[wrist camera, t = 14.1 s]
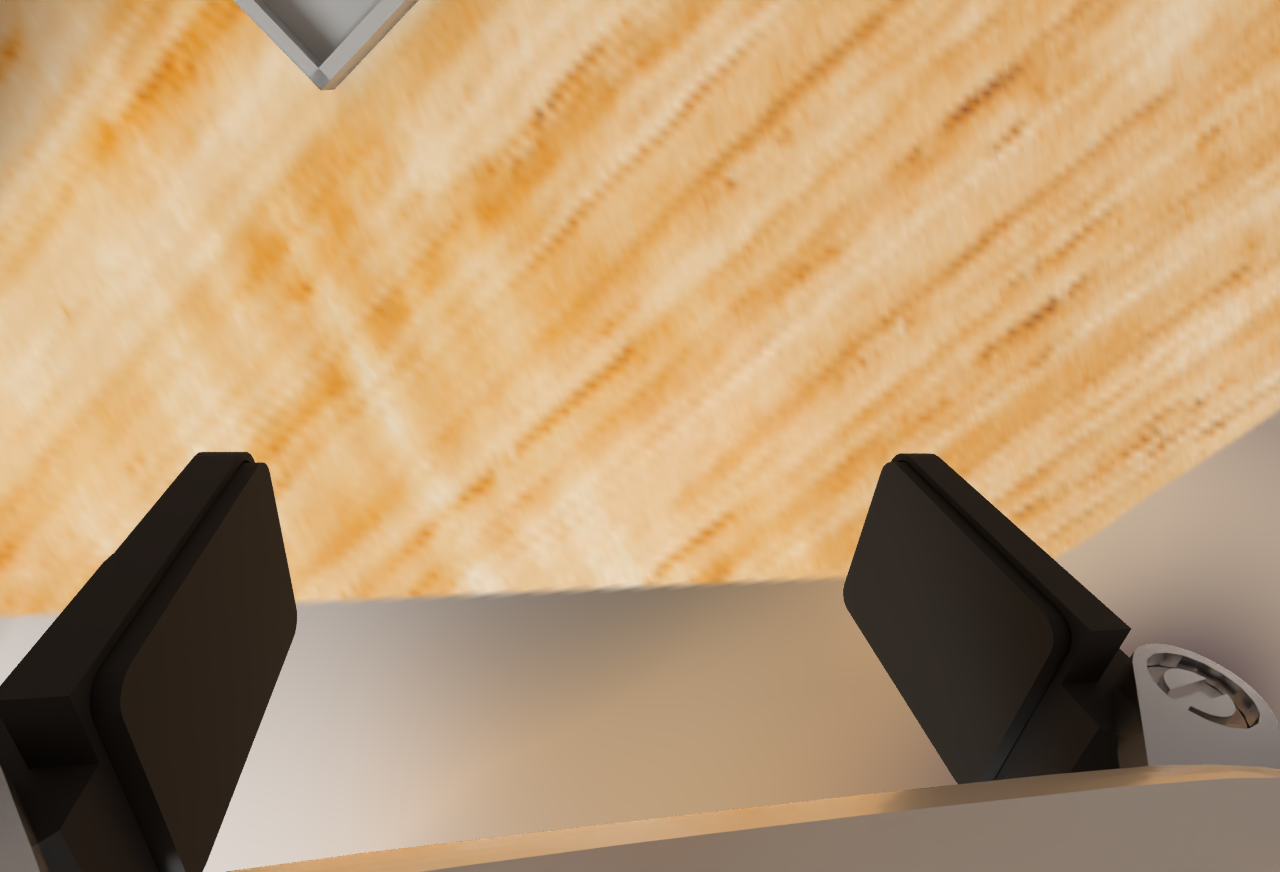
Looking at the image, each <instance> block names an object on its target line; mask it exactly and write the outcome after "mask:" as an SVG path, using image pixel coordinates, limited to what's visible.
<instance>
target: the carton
mask: <svg viewBox="0 0 1280 872" xmlns="http://www.w3.org/2000/svg"><path fill="white" fill-rule="evenodd" d="M234 1H235V2H236V3H237V4H238V6H239V7H240V8H241V9H242V10H243V11H244V12H245V13H246V14H247V15H248V16H249V17H250V18H251V19H252V20H253V21H254V22H255V23H256V24H257V25H258V26H259V27H260V28H261V29H262V30H263V31H264V32H265V33H266V34H267V35H268V36H269V37H270V38H271V39H272V40H273V42H274V43H275V44H276V45H277V46H278V47H279V48H280V49H281V50H282V51H283V52H284V53H285V54H286V55H287V56H288V57H289V58H290V59H291V60H292V61H293V62H294V63H295V64H296V65H297V66H298V67H299V68H300V69H301V70H302V71H303V72H304V73H305V74H306V75H307V76H308V78H309V79H310V80H311V81H312V82H313V83H314V84H315V85H316V86H317V87H318V88H319V89H320V90H331V89H335V88H336V87H337V86H338V85H339V84H340V83H341V82H342V81H343V80H344V79H345V77H346V76H347V75H348V74H349V73H350V72H351V71H352V70H353V69H354V68H355V67H356V66H357V65H358V64H359V63H360V62H361V60H362V59H363V58H364V57H365V56H366V55H367V54H368V53H369V52H370V51H371V50H372V49H373V48H374V47H375V46H376V45H377V43H378V42H379V41H380V40H381V39H382V38H383V37H384V36H385V35H386V34H387V33H388V32H389V31H390V30H391V29H392V28H393V26H394V25H395V24H396V23H397V22H398V21H399V20H400V19H401V18H402V17H403V16H404V15H405V14H406V13H407V12H408V11H409V9H410V8H411V7H412V6H413V5H414V4H415V3H416V2H417V1H418V0H234Z"/></svg>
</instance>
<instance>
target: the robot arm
mask: <svg viewBox="0 0 1280 872" xmlns="http://www.w3.org/2000/svg"><path fill="white" fill-rule="evenodd" d="M843 596H844V602H845V605H846V607H847V609H848V611H849V612H850V614H851V616H852V617H853V619H854V620H855V622H856V624H857V625H858V627H859V628H860V630H861V631H862V633H863V635H864V636H865V638H866V639H867V641H868V643H869V644H870V646H871V647H872V649H873V651H874V652H875V654H876V655H877V657H878V658H879V660H880V662H881V663H882V665H883V666H884V668H885V670H886V671H887V673H888V674H889V676H890V678H891V679H892V681H893V682H894V684H895V685H896V687H897V688H898V690H899V692H900V693H901V695H902V697H903V698H904V700H905V701H906V703H907V705H908V706H909V708H910V709H911V711H912V712H913V714H914V716H915V717H916V719H917V720H918V722H919V724H920V725H921V727H922V728H923V730H924V732H925V733H926V735H927V736H928V738H929V739H930V741H931V743H932V744H933V746H934V747H935V749H936V751H937V752H938V754H939V755H940V757H941V759H942V760H943V762H944V763H945V765H946V766H947V768H948V770H949V771H950V773H951V774H952V776H953V778H954V779H955V780H956V782H957V783H958V785H949V786H939V787H930V788H921V789H912V790H902V791H893V792H884V793H875V794H865V795H856V796H847V797H838V798H830V799H822V800H812V801H803V802H794V803H785V804H777V805H768V806H759V807H750V808H741V809H733V810H724V811H715V812H706V813H698V814H689V815H680V816H672V817H663V818H654V819H646V820H637V821H628V822H620V823H610V824H602V825H594V826H586V827H577V828H569V829H560V830H552V831H543V832H535V833H527V834H518V835H511V836H502V837H494V838H486V839H478V840H469V841H460V842H452V843H443V844H435V845H427V846H418V847H410V848H401V849H393V850H385V851H376V852H368V853H360V854H353V855H346V856H338V857H331V858H323V859H316V860H309V861H302V862H294V863H287V864H280V865H272V866H265V867H258V868H250V869H243V870H235V871H228V872H1280V728H1279V726H1278V723H1277V720H1276V718H1275V716H1274V714H1273V713H1272V711H1271V709H1270V708H1269V706H1268V704H1267V703H1266V702H1265V701H1264V700H1263V699H1262V698H1261V697H1260V695H1259V694H1258V693H1257V692H1256V691H1255V690H1254V689H1253V688H1252V687H1250V686H1249V685H1248V684H1246V683H1245V682H1244V681H1243V680H1241V679H1240V678H1239V677H1237V676H1236V675H1235V674H1233V673H1232V672H1230V671H1229V670H1227V669H1225V668H1223V667H1222V666H1220V665H1218V664H1217V663H1215V662H1213V661H1211V660H1209V659H1207V658H1205V657H1202V656H1200V655H1198V654H1196V653H1193V652H1191V651H1188V650H1185V649H1181V648H1178V647H1174V646H1170V645H1162V644H1148V645H1143V646H1140V647H1139V648H1138V649H1137V650H1136V651H1134V652H1133V654H1132V656H1131V657H1130V658H1129V657H1128V656H1127V655H1126V654H1125V653H1124V652H1123V651H1121V650H1120V649H1119V648H1120V646H1121V644H1122V643H1123V641H1124V640H1125V638H1126V636H1127V635H1128V633H1129V631H1130V630H1131V628H1130V627H1129V626H1128V625H1126V624H1125V623H1124V622H1123V621H1122V620H1121V619H1120V618H1118V617H1117V616H1116V615H1115V614H1114V613H1113V612H1112V611H1111V610H1110V609H1109V608H1107V607H1106V606H1105V605H1104V604H1103V603H1102V602H1101V601H1100V600H1098V599H1097V598H1096V597H1095V596H1094V595H1093V594H1092V593H1091V592H1089V591H1088V590H1087V589H1086V588H1085V587H1084V586H1083V585H1082V584H1081V583H1079V582H1078V581H1077V580H1076V579H1075V578H1074V577H1073V576H1072V575H1070V574H1069V573H1068V572H1067V571H1066V570H1065V569H1063V567H1061V566H1060V565H1059V564H1058V563H1057V562H1056V561H1055V560H1054V559H1053V558H1051V557H1050V556H1049V555H1048V554H1047V553H1046V552H1045V551H1044V550H1042V549H1041V548H1040V547H1039V546H1038V545H1037V544H1036V543H1035V542H1033V541H1032V540H1031V539H1030V538H1029V537H1028V536H1027V535H1026V534H1025V533H1023V532H1022V531H1021V530H1020V529H1019V528H1018V527H1017V526H1016V525H1014V524H1013V523H1012V522H1011V521H1010V520H1009V519H1008V518H1007V517H1005V516H1004V515H1003V514H1002V513H1001V512H1000V511H999V510H998V509H996V508H995V507H994V506H993V505H992V504H991V503H990V502H989V501H988V500H986V499H985V498H984V497H983V496H982V495H981V494H980V493H979V492H977V491H976V490H975V489H974V488H973V487H972V486H971V485H970V484H968V483H967V482H966V481H965V480H964V479H963V478H962V477H961V476H960V475H958V474H957V473H956V472H955V471H954V470H953V469H952V468H951V467H949V466H948V465H947V464H946V463H945V462H944V461H943V460H942V459H940V458H939V457H938V456H936V455H935V454H898V455H896V456H895V457H894V458H893V459H892V461H891V462H889V463H887V464H886V465H885V466H884V467H883V469H882V471H881V474H880V477H879V480H878V483H877V486H876V489H875V492H874V496H873V499H872V502H871V505H870V508H869V511H868V514H867V517H866V520H865V523H864V526H863V529H862V532H861V535H860V538H859V541H858V545H857V548H856V551H855V554H854V557H853V560H852V563H851V566H850V569H849V572H848V575H847V578H846V581H845V584H844V589H843ZM296 624H297V610H296V604H295V599H294V594H293V589H292V584H291V579H290V574H289V568H288V563H287V558H286V553H285V548H284V543H283V538H282V533H281V528H280V522H279V517H278V512H277V507H276V502H275V497H274V492H273V487H272V482H271V477H270V472H269V469H268V467H267V465H266V464H265V463H255V462H254V459H253V457H252V456H251V454H249V453H248V452H200V453H198V454H197V455H196V456H194V458H193V459H192V460H191V461H190V462H189V464H188V465H187V466H186V467H185V468H184V470H183V471H182V472H181V473H180V474H179V476H178V477H177V478H176V479H175V480H174V482H173V483H172V484H171V485H170V486H169V488H168V489H167V490H166V491H165V493H164V494H163V495H162V496H161V497H160V499H159V500H158V501H157V502H156V503H155V505H154V506H153V507H152V508H151V509H150V511H149V512H148V513H147V514H146V515H145V517H144V518H143V519H142V520H141V521H140V523H139V524H138V525H137V526H136V527H135V529H134V530H133V531H132V532H131V534H130V535H129V536H128V537H127V538H126V540H125V541H124V542H123V543H122V544H121V546H120V547H119V548H118V549H117V550H116V552H115V553H114V554H112V555H111V556H110V557H109V558H108V559H107V560H106V561H104V562H103V564H102V565H101V566H100V567H99V568H98V570H97V571H96V572H95V573H94V574H93V576H92V577H91V578H90V579H89V580H88V582H87V583H86V584H85V585H84V586H83V588H82V589H81V590H80V591H79V592H78V594H77V595H76V596H75V597H74V598H73V600H72V601H71V602H70V603H69V604H68V606H67V607H66V608H65V609H64V610H63V612H62V613H61V614H60V615H59V616H58V618H57V619H56V620H55V621H54V622H53V623H52V625H51V626H50V627H49V628H48V630H47V631H46V632H45V633H44V634H43V635H42V637H41V638H40V639H39V640H38V641H37V643H36V644H35V645H34V646H33V647H32V649H31V650H30V651H29V652H28V654H27V655H26V656H25V657H24V658H23V660H22V661H21V662H20V663H19V664H18V666H17V667H16V668H15V669H14V670H13V671H12V673H11V674H10V675H9V676H8V677H7V679H6V680H5V681H4V682H3V683H2V685H1V686H0V872H202V871H203V869H204V867H205V865H206V862H207V860H208V857H209V855H210V852H211V850H212V847H213V845H214V842H215V839H216V837H217V834H218V832H219V829H220V827H221V824H222V821H223V819H224V816H225V814H226V811H227V808H228V806H229V803H230V801H231V798H232V795H233V793H234V790H235V787H236V785H237V783H238V780H239V777H240V774H241V772H242V770H243V767H244V764H245V762H246V759H247V757H248V754H249V751H250V748H251V746H252V743H253V741H254V738H255V736H256V733H257V731H258V728H259V726H260V723H261V720H262V718H263V715H264V713H265V710H266V707H267V705H268V702H269V699H270V697H271V694H272V692H273V689H274V687H275V684H276V682H277V679H278V676H279V674H280V671H281V669H282V666H283V663H284V661H285V658H286V655H287V653H288V650H289V648H290V645H291V643H292V640H293V637H294V634H295V630H296Z"/></svg>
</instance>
